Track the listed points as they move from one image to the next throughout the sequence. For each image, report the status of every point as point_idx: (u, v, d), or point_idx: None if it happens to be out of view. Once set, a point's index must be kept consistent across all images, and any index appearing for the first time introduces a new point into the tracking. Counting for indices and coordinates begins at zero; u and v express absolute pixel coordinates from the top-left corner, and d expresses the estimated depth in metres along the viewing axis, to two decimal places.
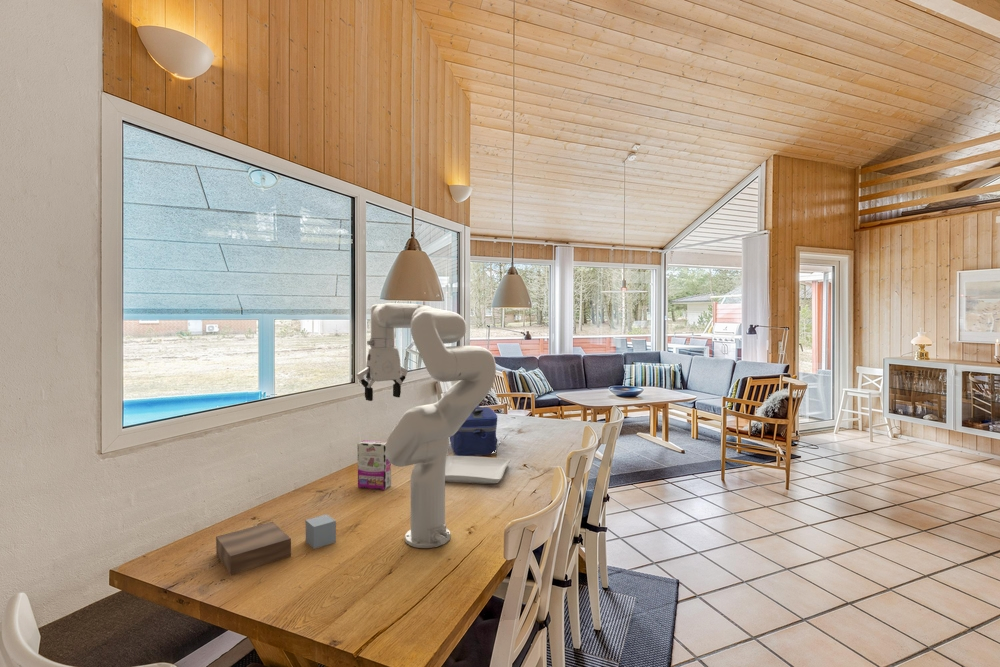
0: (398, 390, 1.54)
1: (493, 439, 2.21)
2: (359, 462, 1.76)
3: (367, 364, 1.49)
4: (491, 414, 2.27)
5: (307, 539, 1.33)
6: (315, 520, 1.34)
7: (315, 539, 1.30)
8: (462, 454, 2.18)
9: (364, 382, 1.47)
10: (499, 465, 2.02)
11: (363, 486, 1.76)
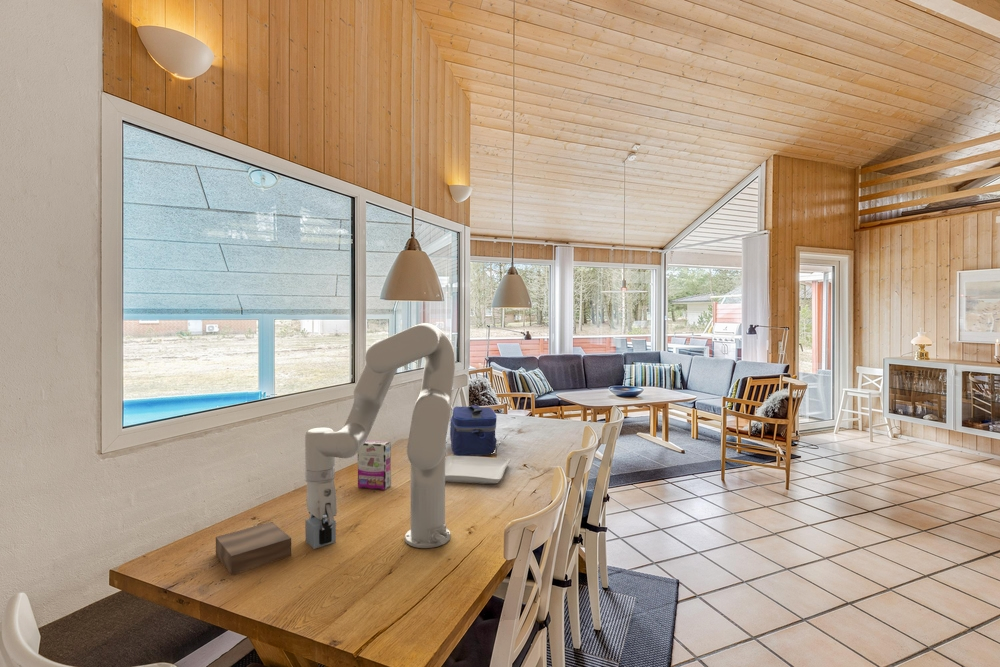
0: None
1: (492, 439, 2.20)
2: (359, 462, 1.76)
3: (326, 501, 1.30)
4: (490, 414, 2.26)
5: (307, 539, 1.33)
6: (314, 520, 1.34)
7: (315, 539, 1.30)
8: (461, 454, 2.19)
9: None
10: (499, 465, 2.02)
11: (363, 486, 1.76)
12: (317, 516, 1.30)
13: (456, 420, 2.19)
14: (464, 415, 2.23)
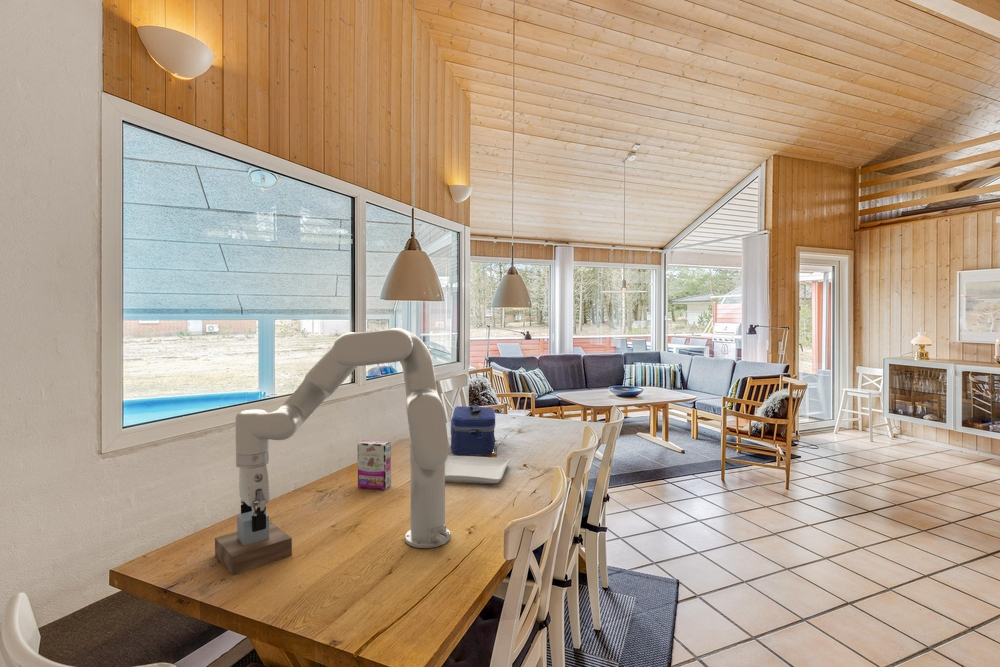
0: None
1: (490, 440, 2.20)
2: (359, 462, 1.76)
3: (256, 487, 1.22)
4: (489, 414, 2.25)
5: (238, 535, 1.25)
6: (246, 515, 1.26)
7: (245, 535, 1.22)
8: (458, 454, 2.19)
9: None
10: (499, 465, 2.02)
11: (363, 486, 1.76)
12: (247, 503, 1.22)
13: (454, 420, 2.19)
14: (463, 415, 2.23)
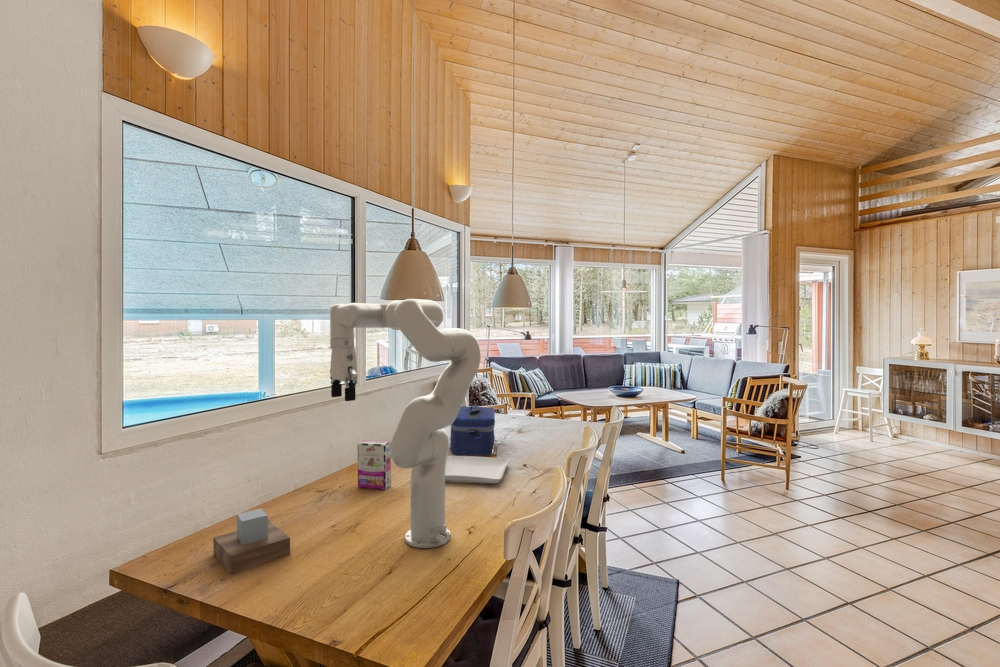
0: (341, 389, 1.56)
1: (488, 440, 2.19)
2: (359, 462, 1.76)
3: (348, 364, 1.48)
4: (489, 415, 2.25)
5: (238, 535, 1.26)
6: (246, 514, 1.26)
7: (243, 534, 1.22)
8: (457, 453, 2.19)
9: None
10: (499, 465, 2.02)
11: (363, 486, 1.76)
12: (341, 378, 1.48)
13: None
14: (462, 415, 2.23)
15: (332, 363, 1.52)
